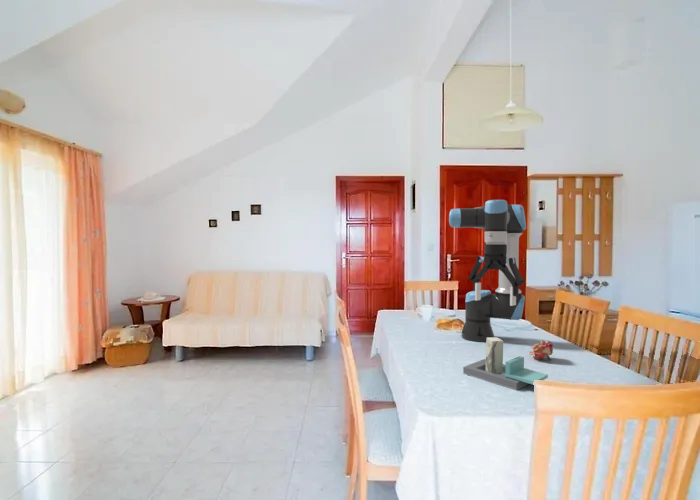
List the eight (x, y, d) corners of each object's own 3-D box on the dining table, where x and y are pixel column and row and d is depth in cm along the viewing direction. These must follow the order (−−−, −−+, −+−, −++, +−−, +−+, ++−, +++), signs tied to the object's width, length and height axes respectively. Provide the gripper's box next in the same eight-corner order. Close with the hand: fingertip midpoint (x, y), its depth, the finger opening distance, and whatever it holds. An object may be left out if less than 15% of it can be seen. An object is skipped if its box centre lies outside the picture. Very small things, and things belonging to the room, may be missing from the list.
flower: (557, 354, 160) (545, 336, 163) (562, 355, 152) (548, 337, 154) (536, 365, 162) (524, 348, 164) (539, 368, 153) (527, 350, 156)
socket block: (463, 373, 143) (463, 367, 142) (484, 365, 152) (484, 359, 151) (516, 390, 127) (516, 382, 127) (535, 379, 136) (536, 373, 136)
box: (485, 371, 143) (485, 337, 143) (496, 371, 144) (497, 336, 143) (491, 376, 138) (491, 341, 137) (503, 376, 138) (503, 340, 138)
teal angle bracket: (504, 376, 132) (504, 361, 132) (518, 369, 139) (519, 355, 139) (534, 384, 125) (534, 369, 124) (547, 377, 131) (548, 362, 131)
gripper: (459, 243, 146) (458, 299, 147) (525, 244, 127) (523, 309, 128) (470, 242, 151) (470, 297, 152) (535, 244, 132) (534, 306, 133)
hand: (494, 302), depth 140 cm, fingers open, 13 cm apart
